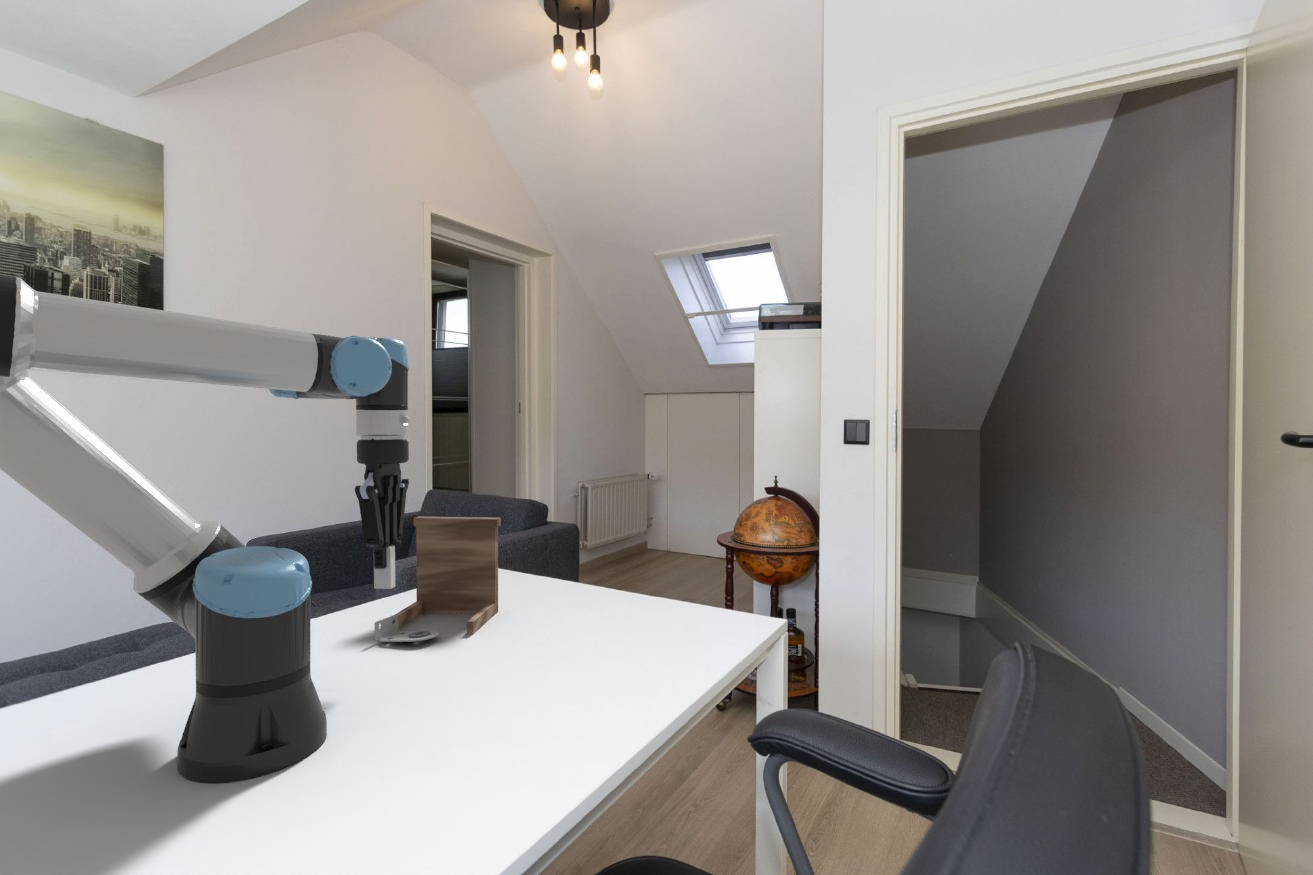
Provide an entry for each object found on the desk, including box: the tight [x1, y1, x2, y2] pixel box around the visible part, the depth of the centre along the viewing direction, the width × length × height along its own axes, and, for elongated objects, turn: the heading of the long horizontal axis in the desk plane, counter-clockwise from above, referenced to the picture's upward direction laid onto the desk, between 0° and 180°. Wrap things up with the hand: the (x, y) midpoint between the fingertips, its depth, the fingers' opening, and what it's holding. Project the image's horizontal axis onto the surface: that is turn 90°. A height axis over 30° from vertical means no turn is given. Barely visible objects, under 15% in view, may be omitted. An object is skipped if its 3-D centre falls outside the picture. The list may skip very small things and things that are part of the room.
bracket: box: [374, 614, 440, 643], centre depth 116 cm, size 7×10×4 cm, turn 78°
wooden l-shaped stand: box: [392, 515, 502, 636], centre depth 127 cm, size 15×17×20 cm
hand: (384, 587), depth 102 cm, fingers closed
